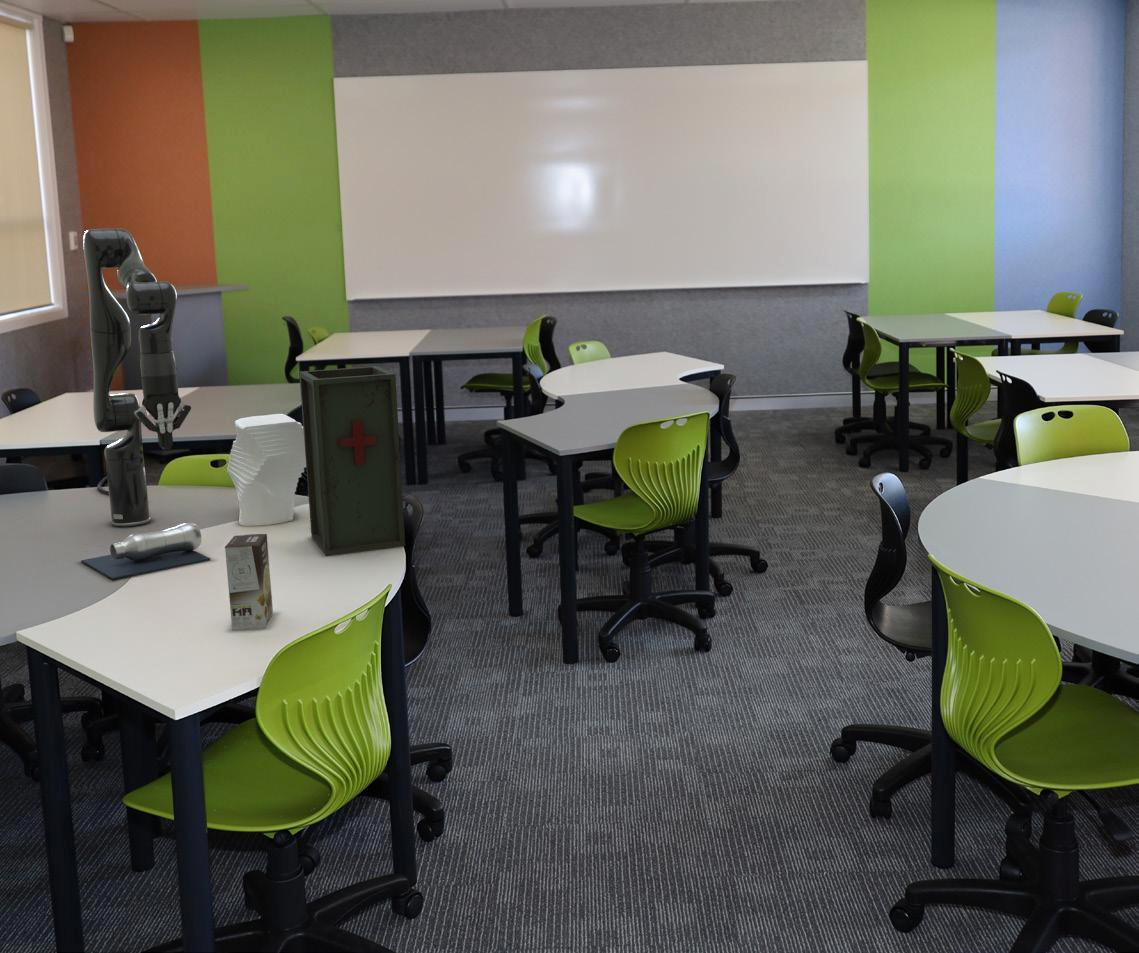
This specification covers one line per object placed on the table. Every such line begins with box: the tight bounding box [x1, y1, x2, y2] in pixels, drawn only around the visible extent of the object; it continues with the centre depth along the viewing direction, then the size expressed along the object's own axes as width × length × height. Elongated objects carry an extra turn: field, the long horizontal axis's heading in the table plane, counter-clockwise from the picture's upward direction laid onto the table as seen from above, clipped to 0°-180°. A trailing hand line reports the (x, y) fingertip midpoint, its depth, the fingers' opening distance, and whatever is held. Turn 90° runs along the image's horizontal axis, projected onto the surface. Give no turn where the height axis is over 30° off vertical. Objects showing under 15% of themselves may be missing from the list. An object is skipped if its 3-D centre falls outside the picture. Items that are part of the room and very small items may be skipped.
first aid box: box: [298, 365, 406, 557], centre depth 283 cm, size 18×18×40 cm
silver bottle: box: [109, 522, 203, 561], centre depth 276 cm, size 6×7×20 cm
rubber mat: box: [80, 550, 211, 581], centre depth 275 cm, size 20×22×1 cm
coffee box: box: [224, 533, 274, 631], centre depth 229 cm, size 9×6×16 cm
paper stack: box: [226, 413, 306, 527], centre depth 313 cm, size 21×27×26 cm
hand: (166, 448), depth 275 cm, fingers closed
